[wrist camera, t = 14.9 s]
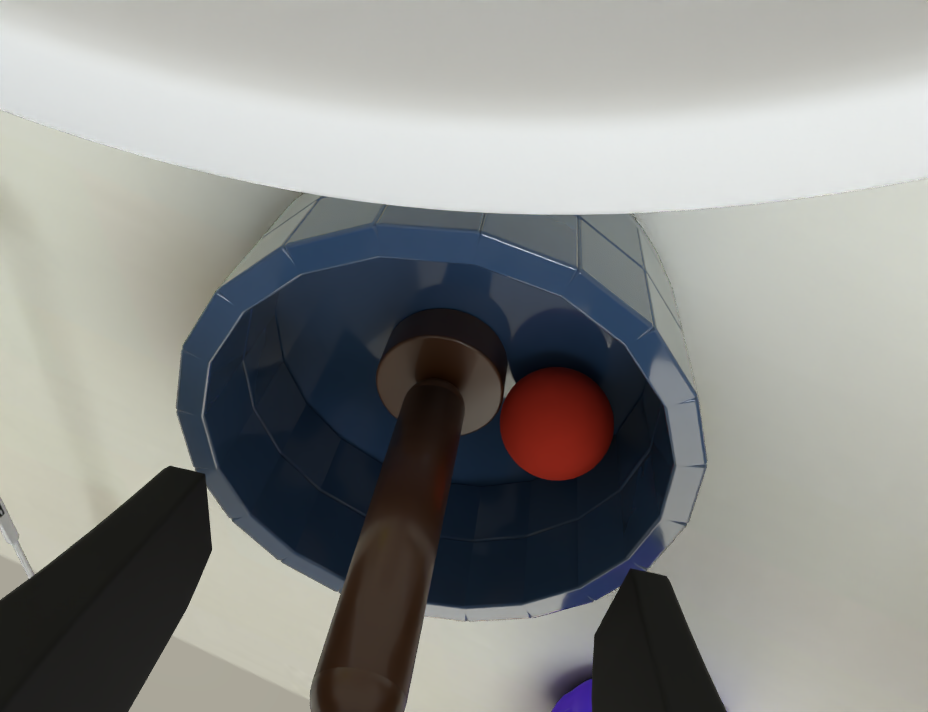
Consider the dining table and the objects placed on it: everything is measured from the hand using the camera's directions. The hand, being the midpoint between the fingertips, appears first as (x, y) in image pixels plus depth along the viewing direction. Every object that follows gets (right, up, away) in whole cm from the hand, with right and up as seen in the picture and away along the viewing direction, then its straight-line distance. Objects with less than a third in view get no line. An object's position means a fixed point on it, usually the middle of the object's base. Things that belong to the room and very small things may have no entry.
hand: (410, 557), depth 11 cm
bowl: (+1, +4, +5) cm, 7 cm away
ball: (+3, +2, +4) cm, 5 cm away
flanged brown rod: (0, +3, +5) cm, 6 cm away
